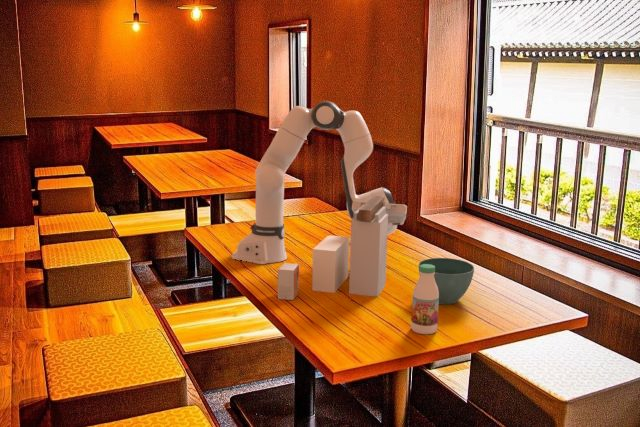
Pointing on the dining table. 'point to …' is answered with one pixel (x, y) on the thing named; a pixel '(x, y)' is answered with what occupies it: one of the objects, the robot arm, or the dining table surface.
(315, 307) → the dining table surface
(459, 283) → the green bowl
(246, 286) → the dining table surface
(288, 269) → the small box
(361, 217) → the rod
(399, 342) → the dining table surface
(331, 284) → the block
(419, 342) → the dining table surface
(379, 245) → the stand
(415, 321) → the milk bottle
